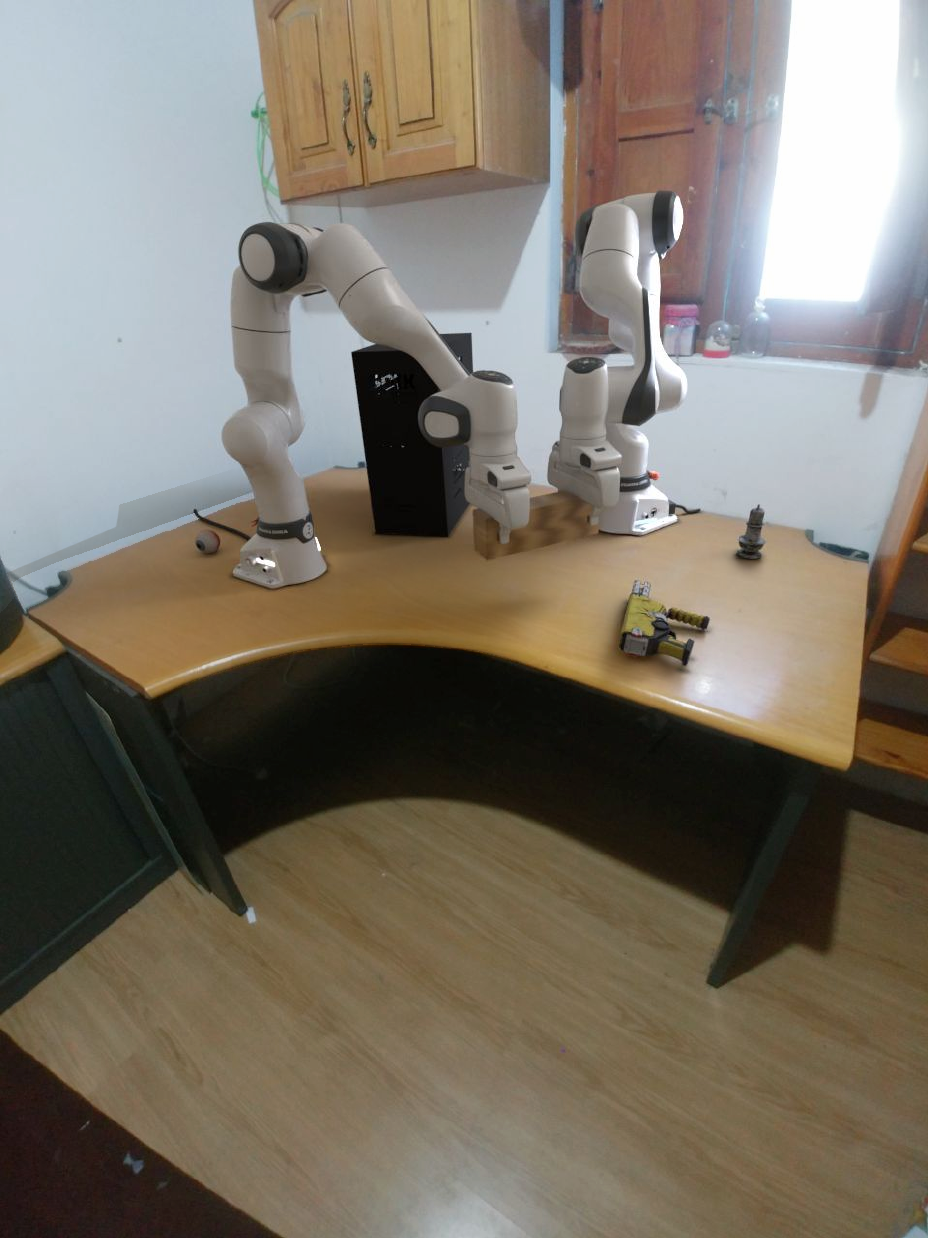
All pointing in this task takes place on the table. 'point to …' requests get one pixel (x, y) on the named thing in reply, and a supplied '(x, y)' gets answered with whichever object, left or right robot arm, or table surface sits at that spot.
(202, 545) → the eyeball
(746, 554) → the salt shaker
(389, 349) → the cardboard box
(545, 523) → the bar
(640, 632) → the toy gun
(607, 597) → the table surface
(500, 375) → the left robot arm
